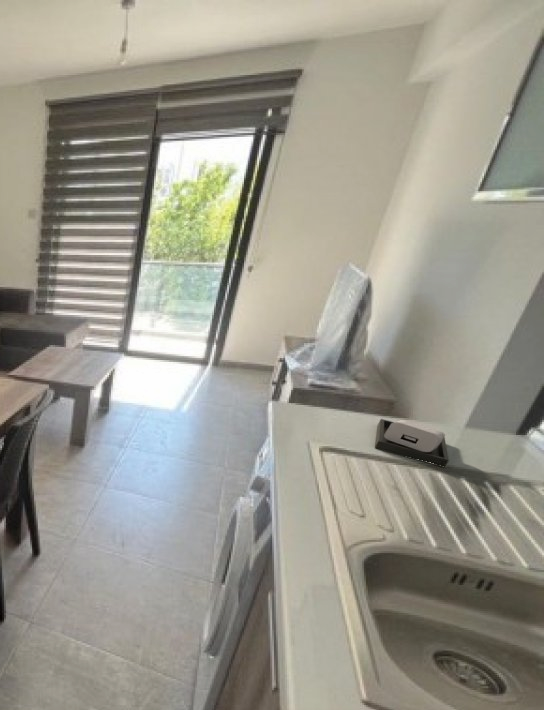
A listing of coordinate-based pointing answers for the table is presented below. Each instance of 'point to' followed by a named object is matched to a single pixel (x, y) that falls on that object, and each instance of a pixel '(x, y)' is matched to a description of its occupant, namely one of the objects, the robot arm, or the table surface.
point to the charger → (414, 435)
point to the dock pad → (435, 456)
